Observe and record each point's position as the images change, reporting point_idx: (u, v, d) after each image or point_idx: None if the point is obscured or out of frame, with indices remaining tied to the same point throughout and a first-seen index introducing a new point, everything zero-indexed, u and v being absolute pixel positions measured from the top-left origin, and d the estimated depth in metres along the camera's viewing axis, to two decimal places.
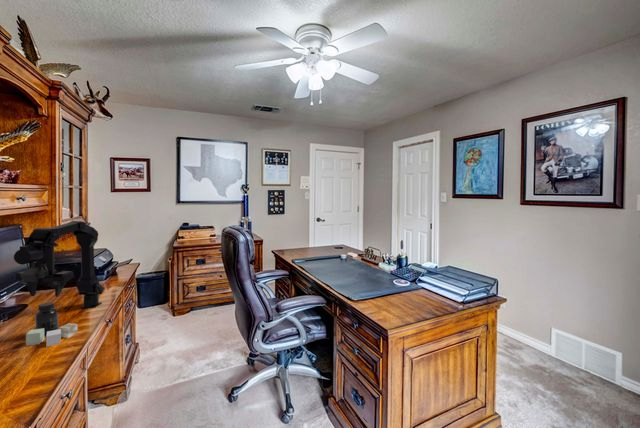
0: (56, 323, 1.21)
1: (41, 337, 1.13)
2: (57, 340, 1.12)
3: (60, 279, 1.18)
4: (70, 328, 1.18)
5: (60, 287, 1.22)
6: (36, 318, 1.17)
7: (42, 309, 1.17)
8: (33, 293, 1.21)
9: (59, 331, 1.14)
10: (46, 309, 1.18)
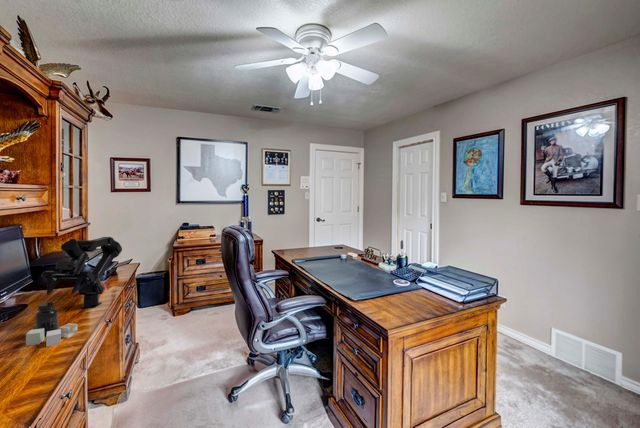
0: (56, 323, 1.21)
1: (41, 337, 1.13)
2: (57, 340, 1.12)
3: (86, 273, 1.31)
4: (70, 328, 1.18)
5: (79, 286, 1.30)
6: (36, 318, 1.17)
7: (42, 309, 1.17)
8: (49, 291, 1.27)
9: (59, 331, 1.14)
10: (46, 309, 1.18)
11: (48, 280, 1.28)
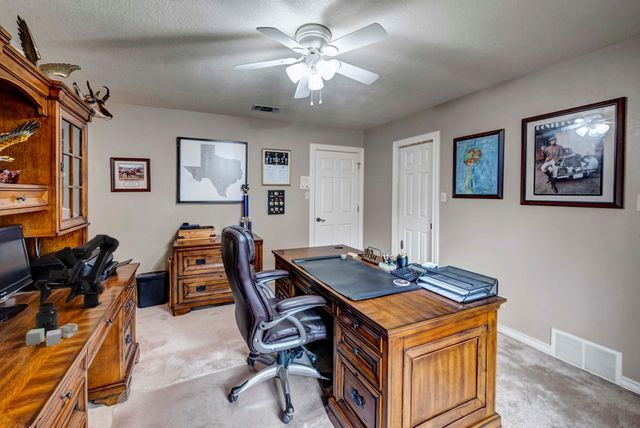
0: (56, 323, 1.21)
1: (41, 337, 1.13)
2: (57, 340, 1.12)
3: (80, 282, 1.28)
4: (70, 328, 1.18)
5: (73, 295, 1.27)
6: (36, 318, 1.17)
7: (42, 309, 1.17)
8: (42, 301, 1.23)
9: (59, 331, 1.14)
10: (46, 309, 1.18)
11: (41, 290, 1.25)
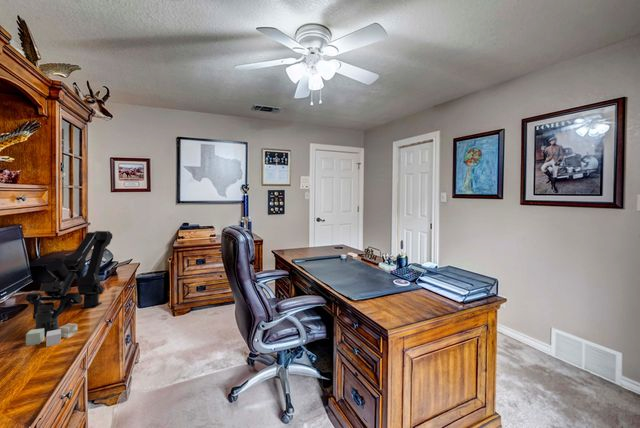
0: (56, 323, 1.21)
1: (41, 337, 1.13)
2: (57, 340, 1.12)
3: (72, 295, 1.23)
4: (70, 328, 1.18)
5: (62, 309, 1.22)
6: (36, 318, 1.17)
7: (42, 309, 1.17)
8: None
9: (59, 331, 1.14)
10: (46, 309, 1.18)
11: (35, 303, 1.20)
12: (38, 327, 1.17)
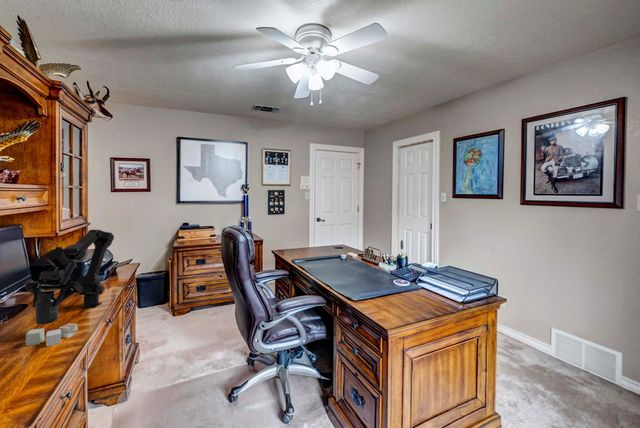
0: (56, 312, 1.20)
1: (41, 337, 1.13)
2: (56, 340, 1.12)
3: (72, 284, 1.23)
4: (70, 328, 1.18)
5: (62, 298, 1.22)
6: (36, 306, 1.16)
7: (42, 297, 1.17)
8: None
9: (59, 331, 1.14)
10: (46, 297, 1.18)
11: (34, 291, 1.20)
12: (38, 315, 1.16)
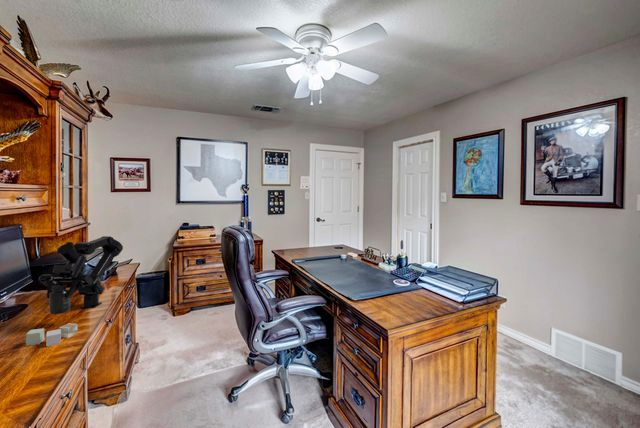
0: (68, 302, 1.28)
1: (41, 337, 1.13)
2: (56, 340, 1.12)
3: (83, 277, 1.30)
4: (70, 328, 1.18)
5: (74, 289, 1.29)
6: (50, 297, 1.24)
7: (55, 289, 1.25)
8: None
9: (59, 331, 1.14)
10: (59, 289, 1.25)
11: (48, 284, 1.27)
12: (52, 306, 1.24)
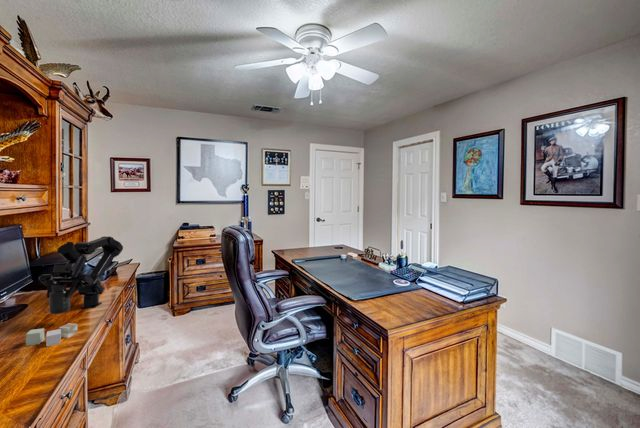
0: (68, 302, 1.28)
1: (41, 337, 1.13)
2: (56, 340, 1.12)
3: (83, 277, 1.30)
4: (70, 328, 1.18)
5: (74, 289, 1.29)
6: (50, 297, 1.24)
7: (55, 289, 1.25)
8: None
9: (59, 331, 1.14)
10: (59, 289, 1.25)
11: (48, 283, 1.28)
12: (52, 305, 1.24)
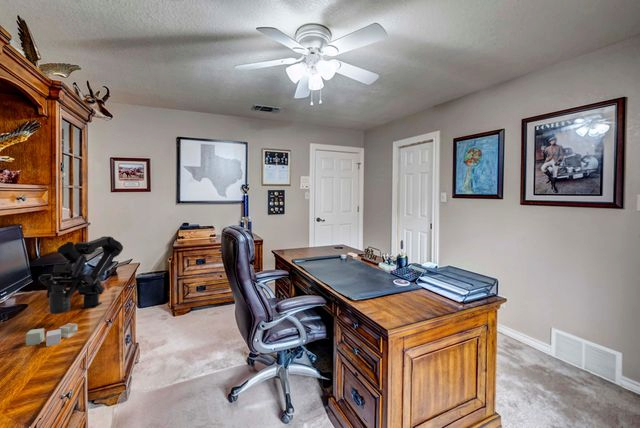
0: (68, 302, 1.28)
1: (41, 337, 1.13)
2: (56, 340, 1.12)
3: (83, 277, 1.30)
4: (70, 328, 1.18)
5: (74, 289, 1.29)
6: (50, 297, 1.24)
7: (55, 289, 1.25)
8: None
9: (59, 331, 1.14)
10: (59, 289, 1.25)
11: (48, 283, 1.28)
12: (52, 305, 1.24)
